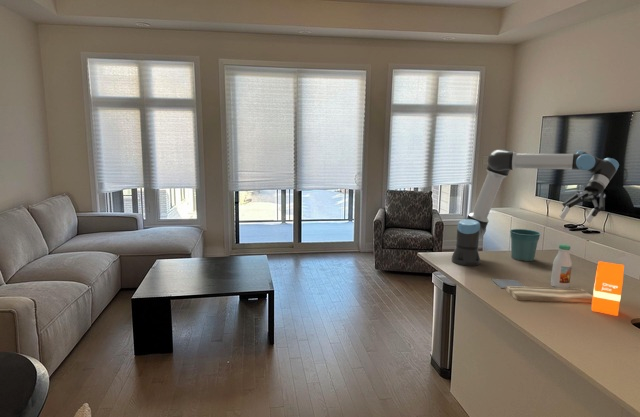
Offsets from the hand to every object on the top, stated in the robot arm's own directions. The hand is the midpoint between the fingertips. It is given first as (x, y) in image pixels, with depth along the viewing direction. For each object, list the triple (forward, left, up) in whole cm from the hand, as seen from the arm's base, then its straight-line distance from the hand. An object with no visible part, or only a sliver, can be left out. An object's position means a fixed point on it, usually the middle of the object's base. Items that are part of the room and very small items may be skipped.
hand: (574, 219), depth 201 cm
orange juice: (+35, -4, -32) cm, 47 cm away
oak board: (+21, -19, -31) cm, 42 cm away
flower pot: (-41, -3, -32) cm, 52 cm away
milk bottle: (+7, -7, -32) cm, 33 cm away
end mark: (+7, -31, -31) cm, 44 cm away
